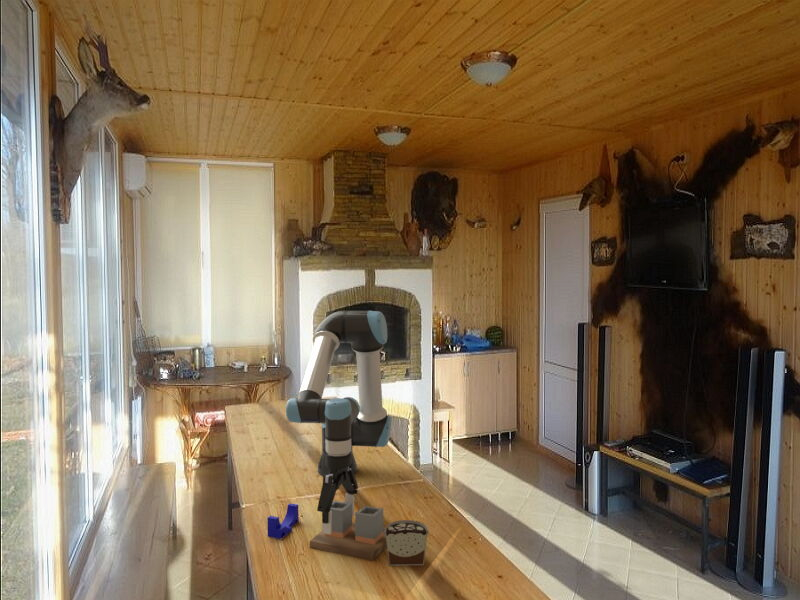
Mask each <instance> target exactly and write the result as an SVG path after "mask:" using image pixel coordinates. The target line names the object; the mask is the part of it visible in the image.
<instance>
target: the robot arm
mask: <svg viewBox="0 0 800 600" xmlns="http://www.w3.org/2000/svg"><path fill="white" fill-rule="evenodd" d="M387 341H388V324H387V321H386V317H385V315H384V314H383V312H382V311H377V310H376V311H375V310H338V311H336V312H332V313H331V314H329V315H327V316H326V317H324V319H323V320H322V321H321V322H320V323H319V324H318V326H317V328H316V329H315V331H314V333H313V337H312V344H313V347H312V349H311V351H310V352H311V353H310V356H309V359H308V362H307V365H306V367H305V368H306V369H305V372H304V374H303V378H302V382H301V385H300V388H299V391H298V395H297V397H290V398H289V399H288V400H287V402H286V405H285V416H286V419H287V420H288V421H289V422H290V423H297V424H321V455H320V459H319V461H318V464H317V473H318V475H320V476H322V485H321V491H320V494H319V500H318V504H317V509H316V510H317V512H320V513H321V532H322V533H325V534H330V535H331V534H332V511H330V509H331V506H332V503H333V501H335V500H334V499H335V496H336V494H337V490H339V488H340V486H341V485H342V486H343V488H344V490H345V492H346V493H344V502H346V503H352V517H355V495H357V494H358V489H359V486H358V485H359V484H358V482H357V478H356V474H357V472H358V464H357V461H356V458H355V455H354V452H353V451H354V450H353V447H369V448H370V447H372V448H373V447H374V448H381V447H382V448H384V447H386V446H388V444H389V440H390V434H391V430H392V422H393V421H392V416H391V415H389V414H388V411H387V410H386V409H385V408H384V407H383V395H382V392H383V391H382V389H383V388H382V374H381V373H382V371H381V355H380V351H381V350H382V349H383V348H384V345H385V344H387ZM340 344H350V346H351V350H352V351H353V352H355V355H356V358H355V359H356V370H357V371H356V374H357V387H358V400H359V401H358V400H357V399H355V398H353V397H350V396H347V397H342V398H341V397H340V398H339V397H338V398H336V397H335V398H323V396H324V391H325V389H326V387H325V386H326V385H327V380H328V376H329V374H330V370H331V365H332V363H333V359H334V356H335V351H336V350H337V349H338V348H339V347H340Z"/></svg>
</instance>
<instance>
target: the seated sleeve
mask: <svg viewBox="0 0 800 600" xmlns="http://www.w3.org/2000/svg"><path fill="white" fill-rule="evenodd" d="M366 513H373V515H372V514H366ZM354 517H355V518H354V520H355V521H354V523H355V541H359V542H364V543H369V544H374V545H375V544H376V543H377V542H378V541H379V540H380V539H381V538H382V537H383V528H384V508H382V507H376V506H370V505H364V506H363V507H361V508H360V509H359V510H357V511H356V512H354Z"/></svg>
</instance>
